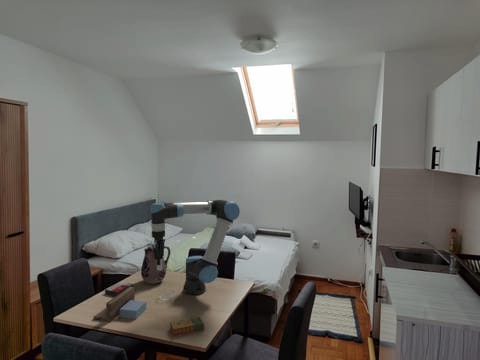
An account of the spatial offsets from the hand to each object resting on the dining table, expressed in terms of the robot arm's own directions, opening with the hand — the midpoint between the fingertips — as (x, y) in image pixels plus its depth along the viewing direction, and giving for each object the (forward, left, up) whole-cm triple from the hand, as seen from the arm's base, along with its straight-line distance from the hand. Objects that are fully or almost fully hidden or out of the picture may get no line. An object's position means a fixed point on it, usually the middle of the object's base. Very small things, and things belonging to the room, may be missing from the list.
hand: (159, 269), depth 191 cm
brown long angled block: (+25, +7, -24) cm, 35 cm away
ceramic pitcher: (+23, -42, -24) cm, 53 cm away
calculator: (+38, -19, -24) cm, 49 cm away
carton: (-24, +18, -24) cm, 39 cm away
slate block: (+13, +8, -24) cm, 28 cm away
